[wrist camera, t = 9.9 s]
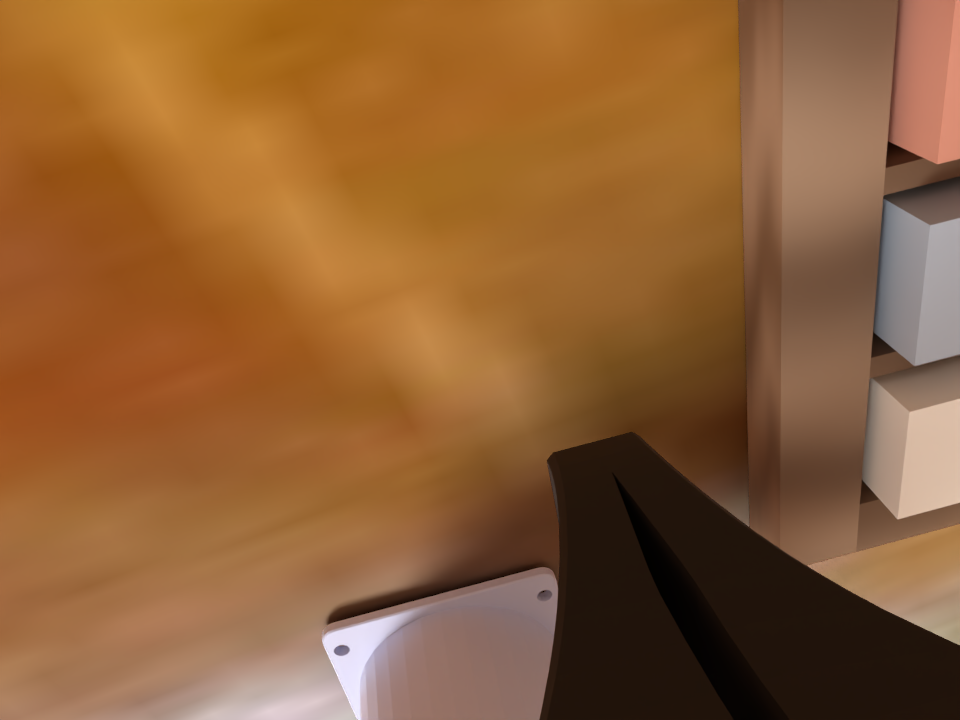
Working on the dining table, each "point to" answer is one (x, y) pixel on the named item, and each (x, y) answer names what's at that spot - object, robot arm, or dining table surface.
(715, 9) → the dining table surface
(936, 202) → the slate key
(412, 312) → the dining table surface
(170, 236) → the dining table surface
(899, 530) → the walnut bezel
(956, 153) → the brick key
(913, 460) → the ivory key
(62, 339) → the dining table surface
